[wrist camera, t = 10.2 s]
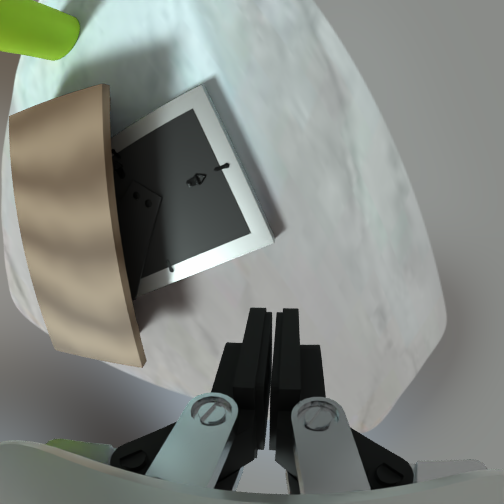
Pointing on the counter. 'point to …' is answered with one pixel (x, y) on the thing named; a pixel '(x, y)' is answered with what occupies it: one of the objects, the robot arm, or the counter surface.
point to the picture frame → (182, 195)
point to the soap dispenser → (36, 29)
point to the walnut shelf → (74, 225)
